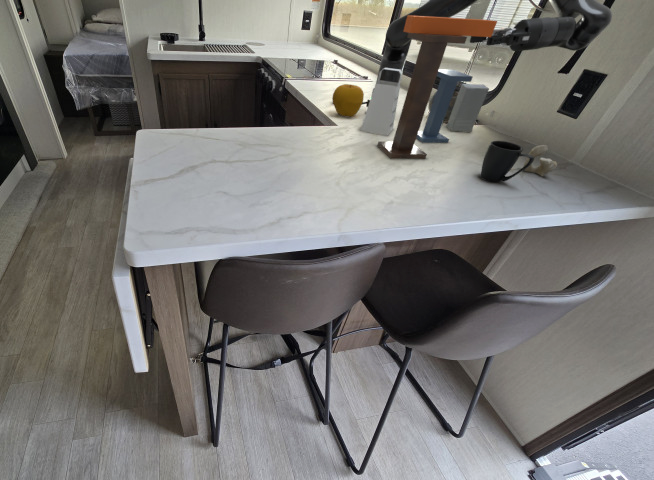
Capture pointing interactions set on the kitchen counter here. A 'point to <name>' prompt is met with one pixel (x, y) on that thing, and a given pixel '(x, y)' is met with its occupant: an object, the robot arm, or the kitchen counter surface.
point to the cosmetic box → (467, 107)
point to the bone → (545, 163)
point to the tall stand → (418, 95)
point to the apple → (347, 99)
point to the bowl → (449, 104)
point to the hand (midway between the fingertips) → (479, 39)
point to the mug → (502, 161)
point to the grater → (382, 107)
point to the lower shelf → (441, 105)
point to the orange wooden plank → (449, 26)
